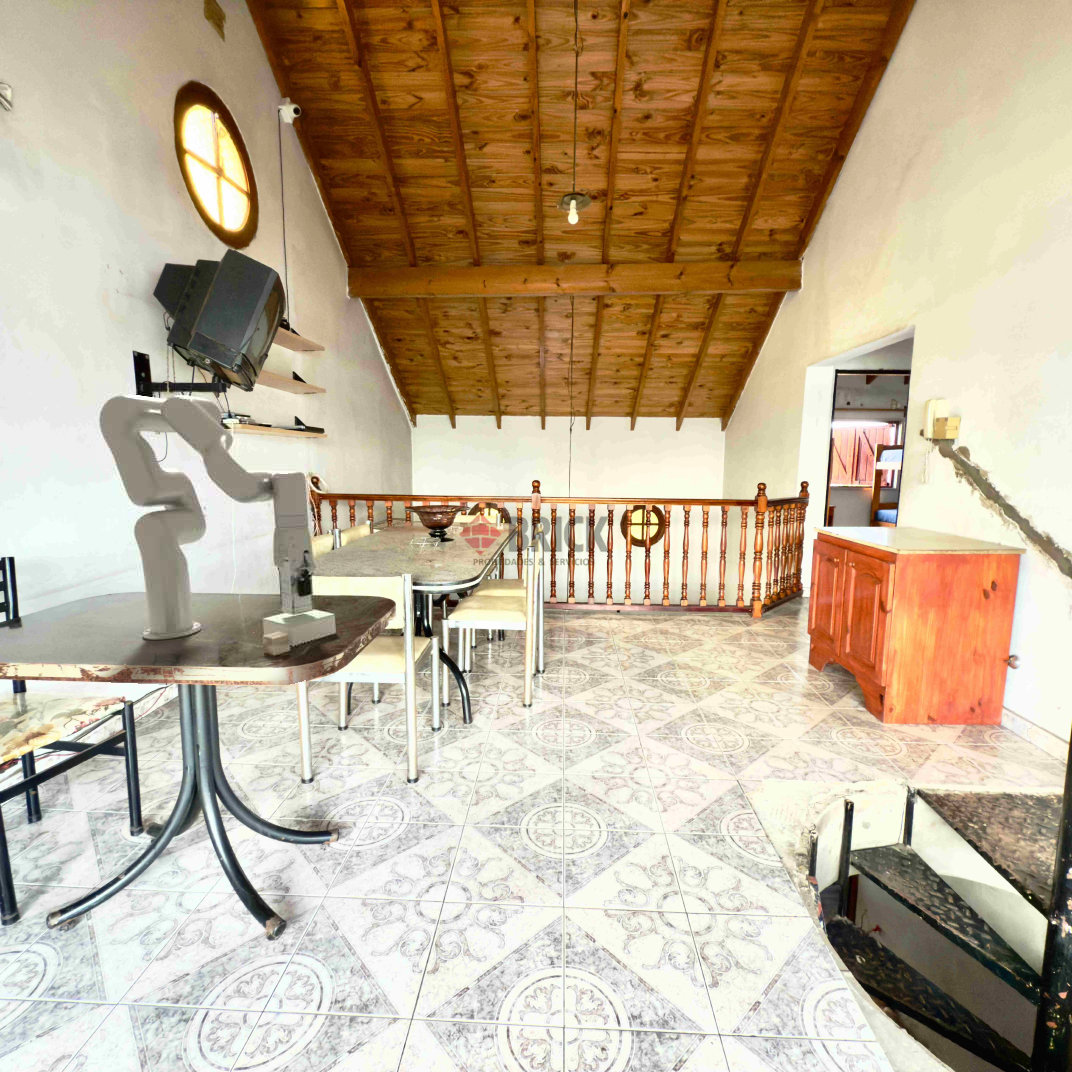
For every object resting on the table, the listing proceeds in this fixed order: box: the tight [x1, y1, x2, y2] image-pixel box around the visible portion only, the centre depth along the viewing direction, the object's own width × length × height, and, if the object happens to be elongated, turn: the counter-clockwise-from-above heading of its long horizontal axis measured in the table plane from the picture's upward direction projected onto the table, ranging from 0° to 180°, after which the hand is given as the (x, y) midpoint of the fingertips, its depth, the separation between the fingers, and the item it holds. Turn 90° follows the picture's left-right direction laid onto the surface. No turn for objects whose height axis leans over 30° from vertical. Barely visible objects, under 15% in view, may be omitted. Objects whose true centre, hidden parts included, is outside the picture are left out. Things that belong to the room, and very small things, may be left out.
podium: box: [262, 609, 337, 647], centre depth 141 cm, size 12×12×5 cm
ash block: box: [262, 631, 291, 656], centre depth 130 cm, size 4×4×4 cm
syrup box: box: [277, 556, 315, 615], centre depth 140 cm, size 6×6×14 cm
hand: (296, 593), depth 140 cm, fingers closed on syrup box, 6 cm apart
